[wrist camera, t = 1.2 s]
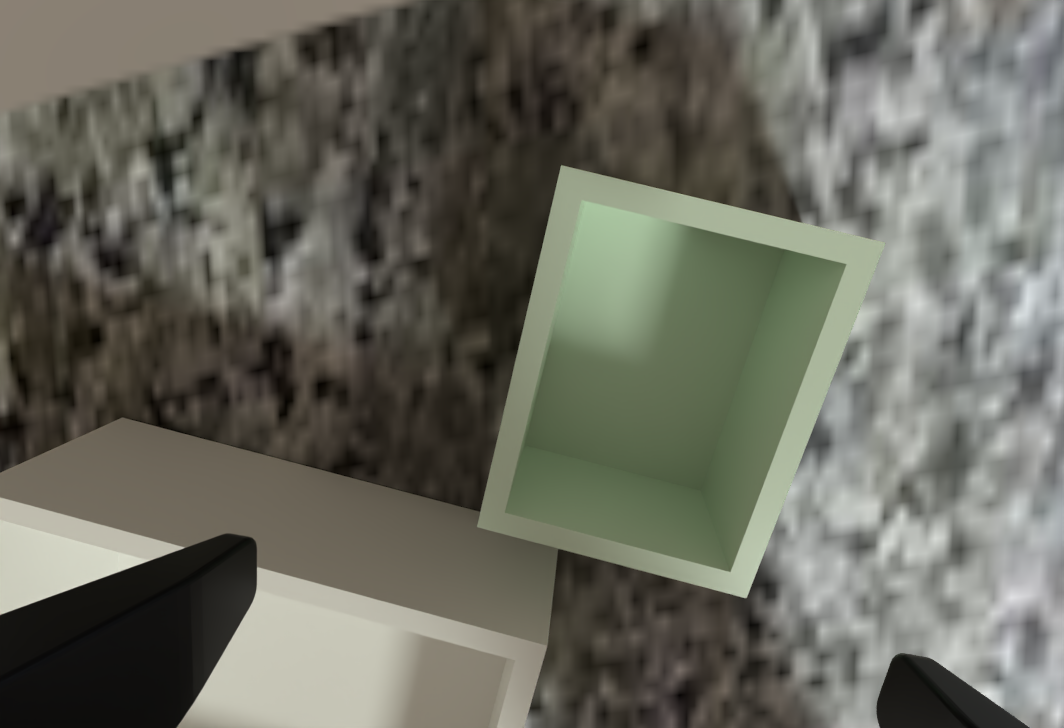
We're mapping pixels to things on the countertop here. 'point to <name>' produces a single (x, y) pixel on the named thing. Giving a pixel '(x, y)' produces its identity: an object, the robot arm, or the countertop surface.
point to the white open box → (297, 579)
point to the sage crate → (669, 378)
